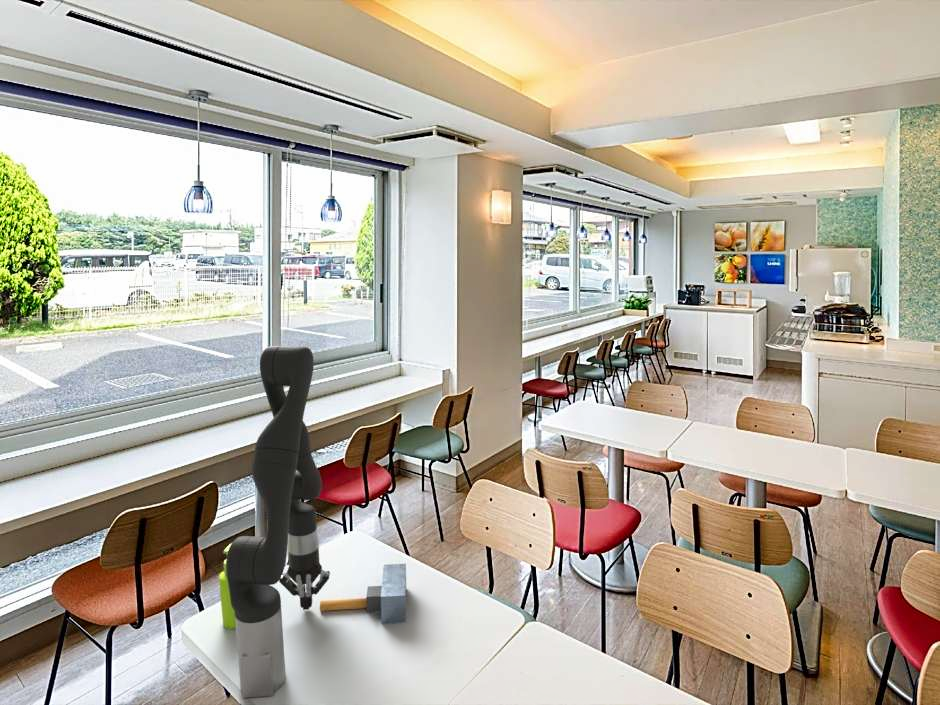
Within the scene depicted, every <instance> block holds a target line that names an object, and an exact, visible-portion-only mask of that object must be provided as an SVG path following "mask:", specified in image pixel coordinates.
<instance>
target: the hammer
mask: <svg viewBox="0 0 940 705" xmlns="http://www.w3.org/2000/svg"><path fill="white" fill-rule="evenodd" d="M381 589H382V585H375V586H374V585H372V586H371V585H370V586H367V590H366V595H365V596H366V597H365V598H364V597H363V598H362V597H361V598H346V599H344V598H343V599H331V600H330V599H329V600H327V599H326V600H320V602H319V611H320V612H323V611H324V612H325V611H340V610H341V611H342V610H357V609H358V610H359V609H366V612H367V613H368V614H369V613H381Z"/></svg>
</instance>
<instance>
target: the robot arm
mask: <svg viewBox="0 0 940 705" xmlns="http://www.w3.org/2000/svg"><path fill="white" fill-rule="evenodd" d="M314 361H315V360H314V355H313V352H312V350H311V348H309V347H307V346H300V345H299V346H297V345H296V346H295V345H293V346H292V345H271V346H268V347H265V348H264V349H263V351H262V353H261V356H260V359H259V371H260V372H259V373H260V378H261V382H262V386H263V388H264V391H265V395H266V398H267V403H268V404H269V408H270V410H271V413H272V414H271V415H272V416H273V418H272V419H271V421H269V423H267V425H266V427H265V428H264V429H263V430H262V431H261V433H260V434H259V436H258V438H257V440H256V443H255V447H254V452H253V457H252V464H251V475H252V480H253V483H254V484H255V487H256V490H257V491H258V492H257V493H258V494H259V497H260V498H261V501H262V503H263V506H264V509H265V513H266V523H267V526H266V537H265V536H256V535H255V536H252V535H250V536H249V535H241V536H238V537H237V538H235V539H234V540H233V541H232V542H231V543H232V544H231V543H230V544H231V546H230V548H229V550H228V554H227V555H226V559H227V560H226V559H225V560H226V572H227V580H228V586H229V593H230V601H231V605H232V608H233V609H234V613H235V623H236V628H235V635H236V637H235V638H236V647H237V648H236V649H237V658H238V670H239V673H238V674H239V682H240V685H239V686H240V690H241V692H242V698H243V699H244V698H259V697H272V696H273V695H274V694H275V692H276V691H277V690H279V688H280V687H281V686H282V685H283V684H284V683H285V681H286V676H287V675H286V674H287V673H286V661H285V660H286V658H285V647H284V645H285V644H284V633H283V632H284V631H283V630H284V628H283V615H282V601H281V600H282V599H281V595H280V594H281V593H280V592H279V591H278V589H277V588H276V587H275V586H272V585H276V584H277V583H280V585H282V586H283V587H284V588H285V589H286V590H287V591H288V592H289V593H290V594H291V595H292V596H295V597H296V596H298V597H299V605H300V608H302V610H303V611H307V610H310V608H312V605H313V595H318V593H319V592H320V591H321V590H322V588H323V587H324V586H325V585H326V583H327V582H328V581H329V579H330V576H331V571H329V570H324V569H323V567H322V565H321V563H320V545H319V544H320V540H319V534H318V530H317V512H316V508H315V507H314V506H313V505H311V504H308V503H304V502H303V501H313V500H315V499H316V498H318V497H319V496H320V495H321V492H322V488H323V480H322V477H321V474H320V471H319V468H318V467H317V464H316V462H315V461H314V460H315V459H314V457H313V455H312V452H311V451H312V449H311V443H310V442H311V441H310V435H309V430H308V428H307V424H306V423H305V422H304V415H305V409H306V405H307V401H308V396H309V392H310V387H311V384H312V378H313V374H314V365H315V363H314ZM284 387H288V391H287V394H286V392H285V388H284ZM287 554H288V555H287ZM287 556H288V557H287ZM287 558H288V559H287ZM287 560H288V568H287V570H286V572H285V573H284V570H285V566H286V563H287V562H286V561H287ZM317 578H319V580H318V581H317V582H316V584H314V582H315V581H316V580H317ZM313 584H314V586H313Z"/></svg>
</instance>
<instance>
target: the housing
mask: <svg viewBox="0 0 940 705" xmlns="http://www.w3.org/2000/svg"><path fill="white" fill-rule="evenodd" d="M382 568H383V569H382V581H381V586H382V589H381V612H380V616H381V624H382V625H387V624H400V623H407V608H406V607H407V605H406V604H407V603H406V601H407V600H406V599H407V563H391V564H383V567H382Z"/></svg>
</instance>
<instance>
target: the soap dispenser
mask: <svg viewBox="0 0 940 705" xmlns="http://www.w3.org/2000/svg"><path fill="white" fill-rule="evenodd" d="M231 544H232V542H230V543H229V545H228V546H227V547H225V549H224V550H223V552H222V554H225V555H226V556H227V554H228V550H229V548H230V546H231ZM226 560H227V558H226V559H224V560H223V571H222V572H220V574H219V575H218V580H219V594H220V605H221V616H222V617H221V618H222V626H223V625H224V626H223V627H224V628H225V627H226V629H232V628H234V629H236V623H235V613H234V609H233V608H232V605H231V601H230V593H229V586H228V580H227V572H226ZM232 630H233V629H232Z"/></svg>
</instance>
